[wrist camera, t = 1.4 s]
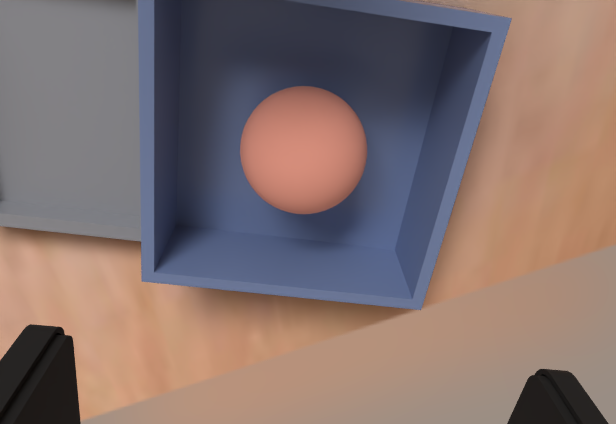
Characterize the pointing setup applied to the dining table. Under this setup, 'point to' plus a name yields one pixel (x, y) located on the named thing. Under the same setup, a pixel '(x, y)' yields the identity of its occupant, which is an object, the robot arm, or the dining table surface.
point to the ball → (303, 150)
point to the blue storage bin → (338, 80)
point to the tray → (70, 117)
